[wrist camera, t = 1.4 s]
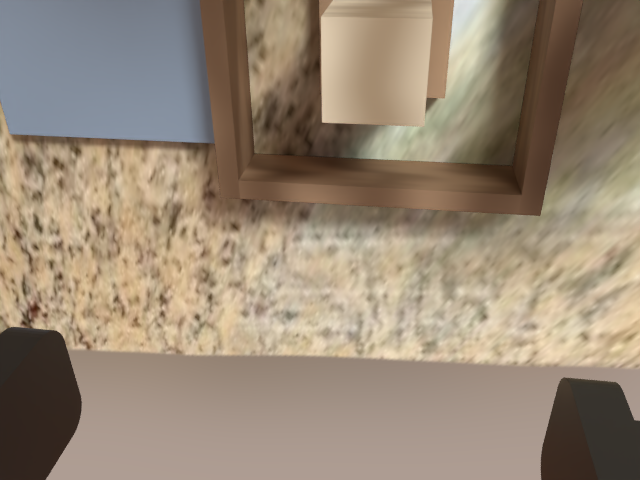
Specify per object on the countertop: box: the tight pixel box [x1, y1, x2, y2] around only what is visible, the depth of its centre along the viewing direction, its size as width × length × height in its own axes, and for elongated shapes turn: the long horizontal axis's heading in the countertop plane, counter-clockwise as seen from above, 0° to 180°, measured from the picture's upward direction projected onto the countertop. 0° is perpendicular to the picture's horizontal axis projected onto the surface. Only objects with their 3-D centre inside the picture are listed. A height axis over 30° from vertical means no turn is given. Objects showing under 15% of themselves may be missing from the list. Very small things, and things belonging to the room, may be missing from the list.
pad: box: [0, 0, 215, 143], centre depth 35 cm, size 14×14×1 cm
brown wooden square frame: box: [200, 0, 583, 216], centre depth 32 cm, size 18×18×4 cm
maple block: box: [321, 0, 433, 127], centre depth 29 cm, size 4×4×8 cm
